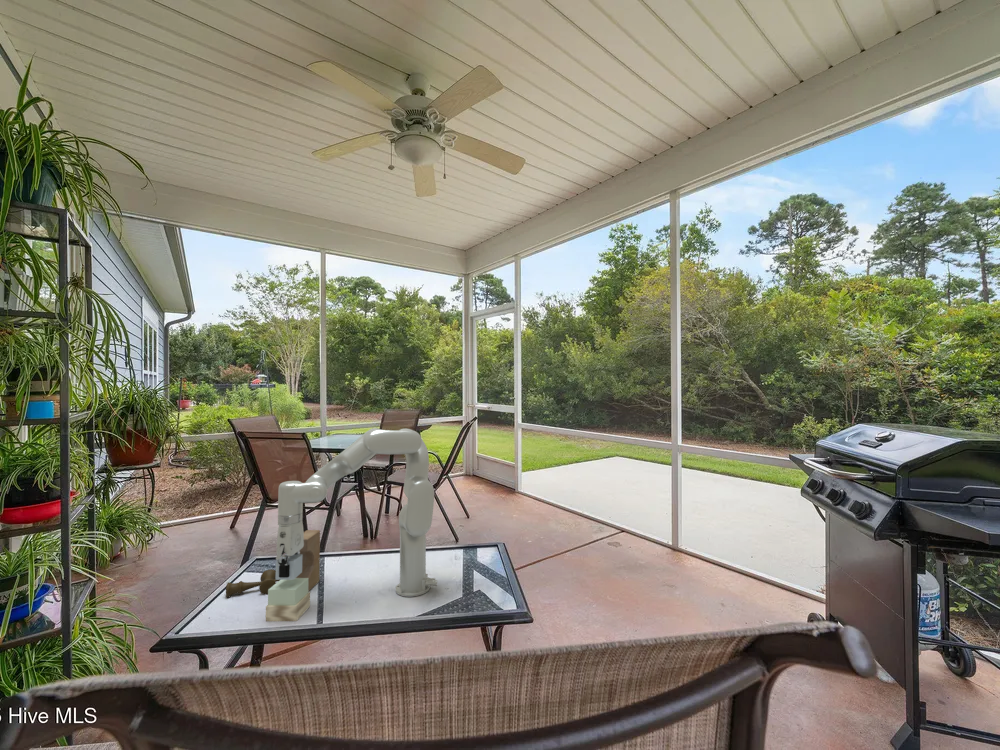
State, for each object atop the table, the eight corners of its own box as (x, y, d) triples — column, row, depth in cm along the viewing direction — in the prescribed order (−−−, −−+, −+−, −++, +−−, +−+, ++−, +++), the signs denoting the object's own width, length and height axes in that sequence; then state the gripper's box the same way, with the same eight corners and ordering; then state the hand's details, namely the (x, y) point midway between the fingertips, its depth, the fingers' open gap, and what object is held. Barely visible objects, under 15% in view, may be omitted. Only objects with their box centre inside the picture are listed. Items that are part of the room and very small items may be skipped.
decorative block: (306, 594, 157) (306, 539, 158) (290, 594, 158) (291, 539, 159) (320, 581, 169) (320, 529, 169) (306, 581, 169) (306, 529, 170)
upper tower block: (308, 592, 149) (308, 578, 149) (295, 605, 140) (295, 589, 140) (282, 592, 149) (282, 577, 149) (267, 605, 140) (268, 589, 140)
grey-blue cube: (302, 572, 148) (302, 554, 148) (293, 579, 142) (293, 561, 142) (284, 572, 148) (285, 554, 148) (275, 579, 142) (275, 561, 142)
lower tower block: (310, 606, 149) (310, 592, 149) (296, 622, 139) (296, 606, 139) (281, 607, 149) (281, 592, 149) (265, 622, 139) (265, 606, 139)
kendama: (228, 592, 161) (287, 580, 170) (224, 604, 152) (287, 591, 161) (227, 576, 161) (287, 565, 170) (223, 587, 152) (286, 575, 161)
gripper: (288, 526, 137) (287, 584, 136) (312, 511, 154) (311, 563, 153) (265, 526, 137) (263, 584, 136) (291, 511, 154) (290, 563, 153)
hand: (289, 572), depth 145 cm, fingers closed on grey-blue cube, 6 cm apart
